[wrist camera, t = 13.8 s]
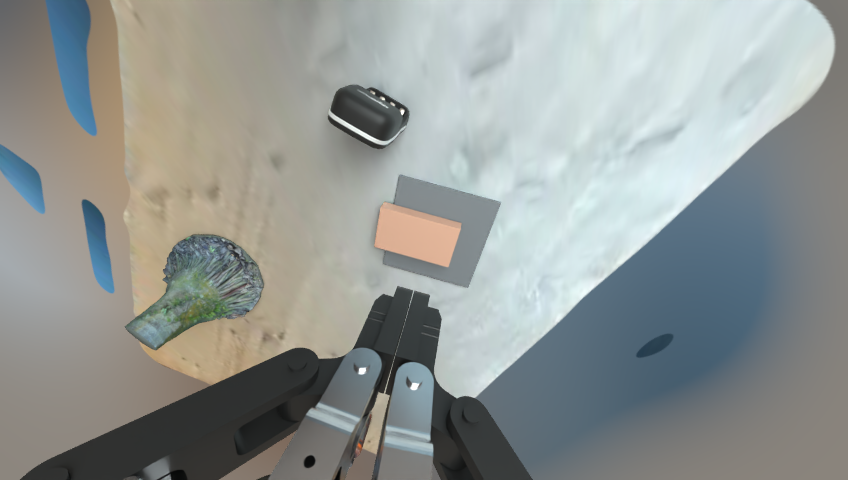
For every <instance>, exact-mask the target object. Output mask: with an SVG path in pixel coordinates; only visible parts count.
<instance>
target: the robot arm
mask: <svg viewBox="0 0 848 480" xmlns="http://www.w3.org/2000/svg"><path fill="white" fill-rule="evenodd" d="M412 293H413V290H410V289H406V288H403V287H399V286H398V287H397V289H396V292H395V294H394V297H392V296H388V295H385V294H383V295H381V296H380V297H379V298H378V299H376V300H375V302H374V304H373V306H372V308H371V311H370V313H369V315H368V318H367V320H366V322H365V324H364V326H363V328H362V331H361V333H360V335H359V337H358V340H357V342H356V344H355V346H354V348H353V349H352V350H351V351H350V352H349V353H347V354H346V355H344V356H342V357H339V358H332V359H318V357H317V355H316V354H315V353H314V352H313V351H312V350H310V349H307V348H295V349H291V350H289V351H286V352H284V353H282V354H280V355H278V356H275V357H273V358H271V359H269V360H267V361H264V362H262V363H260V364H258V365H256V366H253V367H251V368H249V369H247V370H245V371H242V372H240V373H238V374H236V375H234V376H231V377H229V378H227V379H225V380H222V381H220V382H218V383H216V384H214V385H211V386H209V387H207V388H205V389H203V390H201V391H198V392H196V393H194V394H192V395H190V396H188V397H185V398H183V399H181V400H179V401H176V402H175V403H172V404H170V405H167V406H165V407H163V408H161V409H159V410H156V411H154V412H152V413H150V414H148V415H145V416H143V417H141V418H139V419H137V420H134V421H132V422H130V423H128V424H125V425H123V426H121V427H119V428H117V429H114V430H112V431H110V432H108V433H106V434H104V435H101V436H99V437H97V438H95V439H92V440H90V441H88V442H86V443H84V444H82V445H79V446H77V447H75V448H73V449H70V450H68V451H66V452H64V453H62V454H59V455H57V456H55V457H53V458H51V459H49V460H47V461H45V462H43V463H41V464H40V465H38V466H37V467H35V468H34V469H32V470H31V471H30V472H28V473H27V474H26V475H25V476H23V477H22V478H21V479H20V480H219V479H220V478H222V477H224V476H225V475H227V474H228V473H230V472H231V471H233V470H235V469H236V468H238V467H239V466H241V465H242V464H244V463H246V462H247V461H249V460H250V459H252V458H254V457H255V456H257V455H258V454H260V453H261V452H263V451H265V450H266V449H268V448H269V447H271V446H272V445H274V444H276V443H277V442H279V441H280V440H282V439H284V438H285V437H287V436H288V435H290V434H291V433H293V432H294V431H296V430H297V431H296V433H295V434H294V436H293V438H292V440H291V441H290V443H289V445H288V446H287V448H286V450H285V452H284V453H283V455H282V457H281V459H280V460H279V462H278V464H277V465H276V467H275V469H274V470H273V472H272V474H271V475H268V476H264V477H262V478H260V479H258V480H345V478H346V475H347V472H348V469H349V466H350V463H351V461H352V458H353V456H354V453H355V451H356V448H357V446H358V443H359V441H360V438H361V436H362V433H363V431H364V428H365V426H366V423H367V421H368V418H369V416H370V413H371V410H372V409H373V407H374V404H375V401H376V398H377V395H378V392H380V393H383V394H384V390H385V387H386V384H387V380H388V377H389V374H390V370H391V367H392V363H393V360H394V363H393V367H392V370H391V374H390V378H389V382H388V385H387V389H386V393H385V394H387V395H390V397H389V401H388V404H387V408H386V412H385V415H384V420H383V425H382V430H381V435H380V440H379V445H378V450H377V456H376V460H375V465H374V470H373V475H372V479H371V480H432V466H433V464H434V466H435V468H436V470H437V472H438V474H439V477H440V479H441V480H533V479H532V478H531V477H530V475H529V473H528V472H527V471H526V469H525V467H524V466H523V464H522V463H521V461H520V460H519V458H518V457H517V455H516V453H515V452H514V451H513V449H512V447H511V446H510V444H509V443H508V441H507V440H506V438H505V437H504V435H503V434H502V432H501V430H500V429H499V427H498V426H497V424H496V423H495V421H494V420H493V418H492V417H491V415H490V414H489V412H488V411H487V409H486V408H485V407H484V405H483V404H482V403H481V402H480V401H478V400H477V399H475V398H472V397H469V396H463V397H459V398H455V397H454V396H452V395H451V394H449V393H448V392H446V391H445V390H444V389H442V388H441V386H440V385H439V384H438V382H437V381H436V378H435V375H434V365H435V359H436V352H437V346H438V338H439V333H440V327H441V320H442V319H441V316H440V313H439V310H438V309H434V308H431V307H427V306H428V302H429V297H430V295H428V294H424V293H421V292H417V291H414V294H413V298H412V301H411V297H412ZM410 301H411V304H410ZM409 304H410V308H409ZM408 308H409V311H408ZM407 312H408V315H407ZM406 316H407V318H406ZM405 319H406V321H405ZM404 323H405V325H404ZM403 326H404V328H403ZM402 330H403V332H402ZM401 333H402V335H401ZM400 336H401V338H400ZM399 340H400V342H399ZM398 343H399V345H398ZM397 347H398V348H397ZM396 350H397V352H396ZM395 353H396V355H395ZM394 357H395V359H394Z"/></svg>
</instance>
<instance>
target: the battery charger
mask: <svg viewBox="0 0 848 480" xmlns="http://www.w3.org/2000/svg"><path fill="white" fill-rule="evenodd" d="M408 118H409V111H408V109H407V108H406V107H405V106H404V105H402V104H400V103H399V102H397V101H396V100H394V99H392V98H391V97H389V96H387V95H386V94H384V93H382V92H380V91H379V90H377V89H375V88H372V87H371V88H368V89H365V88H363V87H361V86H359V85H349V86H346V87H343V88H340V89H339V90H338V91H337V92H336V94H335V96H334V99H333V102H332V105H331V107H330V108H329V111H328V120H329V121H330V123H331V124H333V125H334V126H336V127H337V128H339V129H340V130H342V131H344V132H346V133H347V134H349V135H351V136H352V137H354V138H356V139H358V140H360V141H361V142H363V143H365V144H367V145H369V146H371V147H373V148H377V149H383V148H385V147H386V146H388V145H389V144H390V143H391V142H392V141H393V140H394V139H395V138H396V137H397V135H398V134H400V133H401V132H402V131H403V130H404V129H405V127H406V124H407V122H408Z"/></svg>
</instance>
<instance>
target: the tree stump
mask: <svg viewBox="0 0 848 480" xmlns="http://www.w3.org/2000/svg"><path fill="white" fill-rule="evenodd" d="M231 254H233V255H234V257H233V256H232V255H231ZM236 257H237V259H236ZM167 262H168V263H167V265H166V266H165V267H166V268H165V269H163V272H164V274H165V275H166V277H165V278H164V279H163V281H165V282H166V283H167V284H168V285H167V288H166V293H165V294H164V295H163V296H162V297H161V298H160V299H159V300H158V301H157V302H156V303H154V304H153V305H152V306H150V307H149V308H148V309H147V310H146V311H144V312H143V313H142V314H140V315H139V316H137V317H136V318H135V319H134V320H133V321H131V322H130V323H129V324H128V325H126V326H125V328H126V329H127V331H128V332H130V333H131V334H132V335H133V336H134V337H135V338H137V339H138V340H139V341H140V342H142V343H143V344H145V345H146V346H148V347H150V348H151V349H153V350H157V349H158V348H160V347H161V346H162V345H164V344H165V343H166V342H168V341H170V340H171V339H173V338H175V337H177V336H178V335H179V334H181V333H182V332H184V331H185V330H187V329H189V328H191V327H192V326H194V325H196V324H198V323H202V322H207V321H211V320H215V319H216V318H217V319H221V318H222V317H225V318H227V319H235V318H237V317H244V316H245V314H246V312H249V311H250V310H252V309H253V307H254V306H255V304H256V303H257V302H258V300H259V299H260V297H261V291H262V289H263V286H264V282H263V279H262V276H261V273H260V270H259V267H258V265H257V264H256V263H255V262H254V261H253V260H252V258H251V257H250V256H249V255H248V254H247V253H246V252H245V251H244V250H243V249H242V248H241V247H239V246H238V245H236V244H235V243H233V242H232V241H230V240H228V239H226V238H224V237H220V236H216V235H192V236H190V237H188V238H186V239H184V240H182V241H180V242H178V244H176V245H175V246H174V247H173V249H172V252H171V253H170V254H169V257H168V258H167Z"/></svg>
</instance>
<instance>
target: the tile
mask: <svg viewBox="0 0 848 480" xmlns="http://www.w3.org/2000/svg"><path fill="white" fill-rule="evenodd" d="M460 230H461V223H459V222H456V221H452V220H448V219H445V218H441V217H438V216H434V215H430V214H427V213H423V212H419V211H416V210H412V209H409V208H405V207H401V206H398V205H394V204H390V203H387V202H384V203H383V205H382V206H381V208H380V214H379V220H378V227H377V233H376V239H375V245H374V247H377V248H381V249H384V250H388V251H391V252H395V253H398V254H402V255H406V256H409V257H413V258H416V259H420V260H423V261H427V262H431V263H434V264H438V265H441V266H445V267H449V264H450V261H451V258H452V254H453V251H454V248H455V245H456V242H457V239H458V236H459V233H460Z"/></svg>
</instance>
